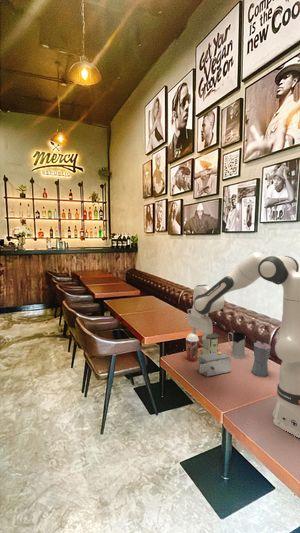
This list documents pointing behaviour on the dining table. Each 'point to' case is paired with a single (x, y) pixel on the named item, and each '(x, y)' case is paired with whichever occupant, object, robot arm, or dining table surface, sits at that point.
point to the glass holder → (238, 345)
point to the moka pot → (261, 358)
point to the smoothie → (192, 347)
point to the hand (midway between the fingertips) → (199, 336)
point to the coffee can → (210, 344)
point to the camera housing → (210, 359)
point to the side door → (216, 367)
